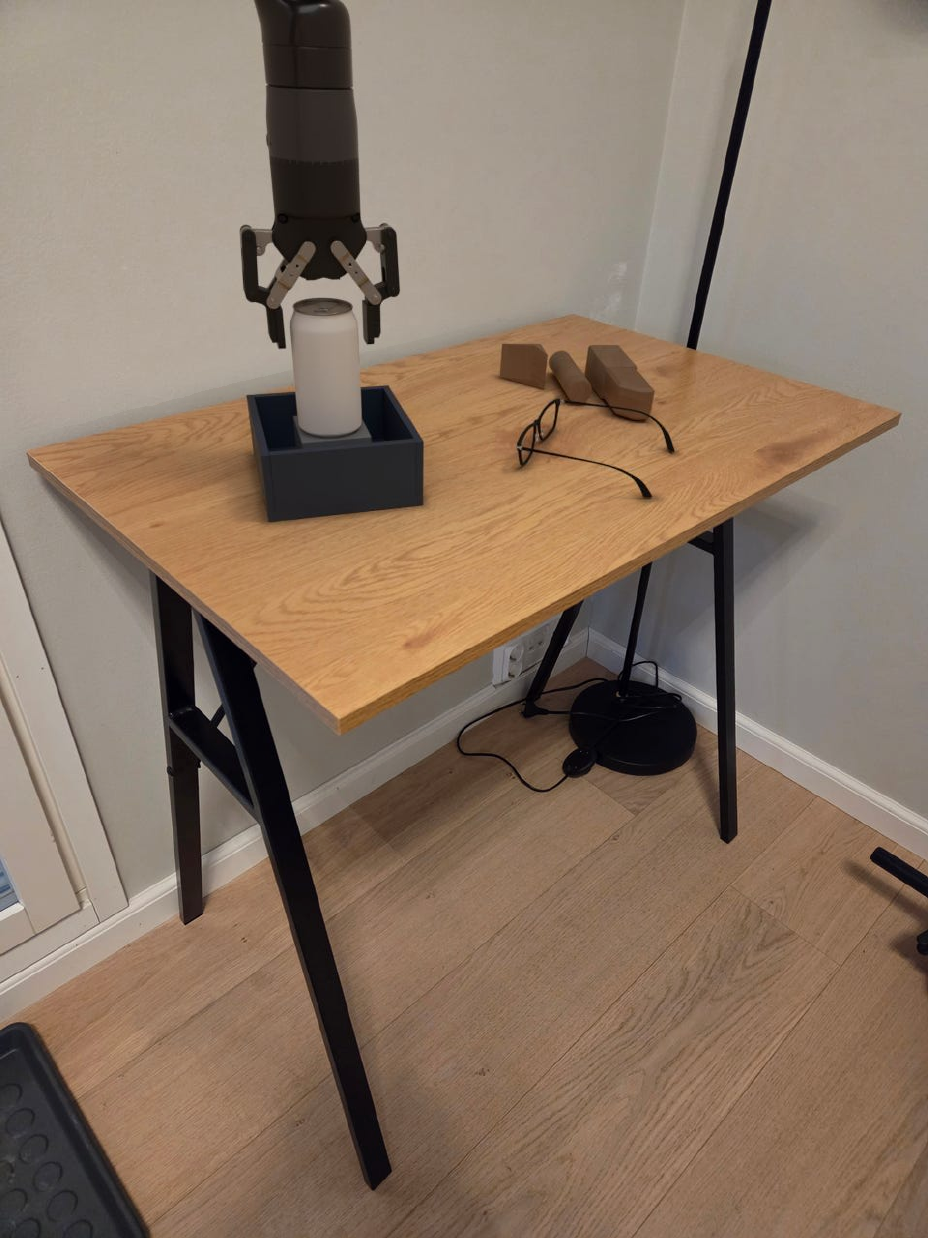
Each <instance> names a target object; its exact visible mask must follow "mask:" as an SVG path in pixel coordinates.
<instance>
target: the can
mask: <svg viewBox="0 0 928 1238" xmlns="http://www.w3.org/2000/svg"><path fill="white" fill-rule="evenodd" d="M353 308H354V306H353V303H351V302H350V301H348V300H345V299H341V298H334V297H311V298H304V299H300V300H297V301H295V302H294V303H293V304H292V309H293V310H292V311H293V312H292V315H291V316H290V319H289V335H290V336H289V337H290V348H291V359H292V369H293V370H292V371H293V378H294V379H293V380H294V381H293V382H294V392H295V394H296V405H297V415H298V424H299V426H300V428H301V429H302V430H303V431H304V432H305V433H307V434H309V435H312V436H315V437H321V438H338V437H343V436H347V435H350V434H352V433H354V432H356V431H357V430H358V428H359V427H360V426H361V423H362V415H361V387H362V386H361V366H360V365H361V363H360V340H359V324H358V319H357V318H356V315H355V314H354V312H353Z"/></svg>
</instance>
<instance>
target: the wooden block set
mask: <svg viewBox="0 0 928 1238" xmlns="http://www.w3.org/2000/svg"><path fill="white" fill-rule="evenodd" d="M500 351H501V352H500V366H499V378H500V379H504V380H508V381H512V382H515V383H519V384H523V385H526V386H530V387H533V388H538V389H540V390H545V387H546V377H547V369H548V368H547V367H549V369H550V371H551V372H552V374H553V375H554V377H555V378H556V380H557V381H558V383H559V385H560V387H561V388H562V389H563V391H564V392H565V394H566V396H567V398H568V400H569V401H575V402H583V403H586V402H587V401H588V400H589V398H590V397H591V396H592V394H593V390H594V392H595V393H596V394H597V396H598V397H599V399H602V400H605V401H606V403H607V404H608V406H613V407H621V408H627V409H633V410H637V411H641V412H644V413H646V414H649V415H650V416H651V413H652V407H653V404H654V403H653V402H654V397H655V392H656V391H655V389H654V388H653V387H652V386H651V385H650V383H649V382H647V380H646V379H645V378H644V376H642V374H641V373H640V372H639V371H638V366H637V364H636V363H635V362H634V361H633V360H632V359H631V358H630V357H629V355H628V354H627V353H626V352H625V351H624V350H623V348H622V347H621V346H620V345H618V344H590V345H588V347H587V353H586V360H585V368H584V373H583V371H582V370H581V368H580V367H579V366H578V365H577V363H576V361H575V360H574V359H573V357H572V356H571V355H570V353H569V352H568V351H565V350H557V351H555V352H554V353H553V354H551V356H550V357H549V355H548V352H547V351H546V350H545V348H544V346H543V345H542V343H501V349H500ZM548 358H549V360H548ZM611 410H612V411H613V412H614V413H615V415H618V416H621V417H624V418H628V419H630V420H634V421H639V420H641V421H642V420H645V421H646V420H648V419H649V418H650V417H648V416H646V415H644V414H641V413H638V412H634V411H629V410H622V409H614V408H611Z"/></svg>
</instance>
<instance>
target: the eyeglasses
mask: <svg viewBox="0 0 928 1238" xmlns="http://www.w3.org/2000/svg"><path fill="white" fill-rule="evenodd" d="M561 404H569V405H578V406H587V407H588V406H589V407H598V408H604V409H605V408H606V409H612V408H614V409H622V410H629V411H634V412H638V413H641V414H644V415H646V416H648V417H649V418H650V419H651V420H652V421H654V422H655V423H656V424H657V425H658V426H659V428H660V430H661V431H662V434H663V437H664V440H665V445H666V449H667V451H669V452H671V453H675V452H676V451H675V448H674V447H675V446H674V444H673V441H672V438H671V436H670V433H669V431H668V430H667V429H666V427H665V426H664V425H663V424H662V423H661V422H660V421H659V420H658V419H657V418H655V417H654V416H652V415H651V414H650V415H649V414H646V413H644V412H641V411H637V410H633V409H627V408H621V407H613V406H610V405H606V404H599V403H591V402H590V403H589V402H575V401H571V400H567V399H561V398H559V397H558V398H554V399H552V400H551V401H549V402H548V403H547V405H545V407H544V408H543V409H542V411H541V412H540V414H539V416H538V417H537V418H535V419H534V420H533V422H532V423H529V424H528V425H527V426H526V427H525V428H524V429H523V431H522V432H521V434H520V436H519V438H518V440H517V442H516V446H515V449H516V450H517V454H518V460H519V465H520V466H525V465H526V464H527V463H528V462H529V460H530V459H531V457H532V455H533V453H535V454H542V455H547V456H553V457H559V458H565V459H569V460H575V461H579V462H585V463H591V464H595V465H599V466H603V467H606V468H610V469H613V470H615V471H618V472H621V473H623V474H625V475H627V476H628V477H630V478H631V479H632V480H633V481H634V482H635V483H636V485H637V487H638V489H639V491H640V493H641V496H642V498H645V499H651V498H653V495H652V493H651V492H650V490H649V488H648V487H647V485H646V484H645V482H643V481H642V479H640V477H638V476H636V475H634V474H633V473H631V472H629V471H627V470H624V469H622V468H619V467H617V466H615V465H614V466H613V465H610V464H607V463H603V462H599V461H594V460H589V459H586V458H585V459H584V458H579V457H575V456H570V455H565V454H562V453H561V454H560V453H556V452H551V451H547V450H541V449H536V448H535V445H536V442H538V441H539V440H540V441H543V442H544V441H546V440H547V439H548V438H549V437H550V436H551V434H552V433H553V432H554V431H555V428H556V425H557V421H558V415H559V410H560V405H561ZM553 405H555V406H554V418H553V423H552V426H551V429H550V430H549V432H548V433H547V434H546V435H545V436H544V430H543V429H542V428H541V427H542V425H541V424H542V423H541V422H542V419H543V417H544V415H545V413H546V412H547V410H548V409H550V407H551V406H553ZM531 428H532V440H531V445H530V446H531V447H527V446H523V445H522V444H523V440H524V438H525V436H526V435H527V433H528V431H529V430H530V429H531ZM543 436H544V437H543ZM523 451H524V452H525V451H526V452H529V453H528V455H527V457H526V459H523ZM523 460H524V461H523Z"/></svg>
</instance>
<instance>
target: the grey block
mask: <svg viewBox="0 0 928 1238" xmlns="http://www.w3.org/2000/svg"><path fill="white" fill-rule="evenodd" d="M293 424H294V434H295V445H296V449H305V448H316V447H328V446H339V445H350V444H362V443H372V437H371V435H370V433H369V431H368V429H367V427H366V425H365V423H364V421H363V419H362V423H361V426H360V427H359V428H358V430H357V431H356V432H354V433H352V434H350V435H347V436H343V437H338V438H321V437H315V436H312V435H309V434H307V433H305V432H304V431H303V430H302V429H301V428H300V426H299V424H298V416H293Z"/></svg>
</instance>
